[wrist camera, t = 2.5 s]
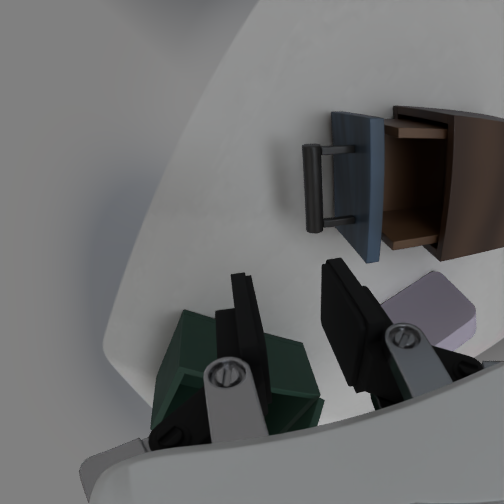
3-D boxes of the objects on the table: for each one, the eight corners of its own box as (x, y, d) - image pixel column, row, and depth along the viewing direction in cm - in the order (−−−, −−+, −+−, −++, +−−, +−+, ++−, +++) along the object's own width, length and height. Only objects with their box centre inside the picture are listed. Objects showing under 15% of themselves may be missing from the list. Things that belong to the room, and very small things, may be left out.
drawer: (294, 232, 31) (317, 272, 24) (285, 114, 26) (311, 119, 19) (438, 213, 32) (481, 242, 25) (444, 114, 27) (495, 126, 20)
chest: (156, 376, 40) (150, 429, 32) (183, 309, 35) (179, 366, 27) (259, 400, 44) (268, 449, 36) (302, 342, 39) (320, 395, 32)
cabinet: (390, 220, 33) (440, 261, 24) (393, 105, 27) (454, 115, 19) (478, 209, 34) (528, 240, 25) (486, 114, 28) (544, 129, 19)
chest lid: (213, 547, 21) (251, 564, 20) (272, 521, 16) (323, 541, 16) (266, 450, 36) (295, 465, 35) (319, 396, 31) (352, 415, 30)
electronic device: (383, 329, 40) (415, 381, 32) (374, 308, 38) (409, 362, 30) (440, 291, 39) (480, 335, 30) (435, 268, 37) (480, 312, 28)
